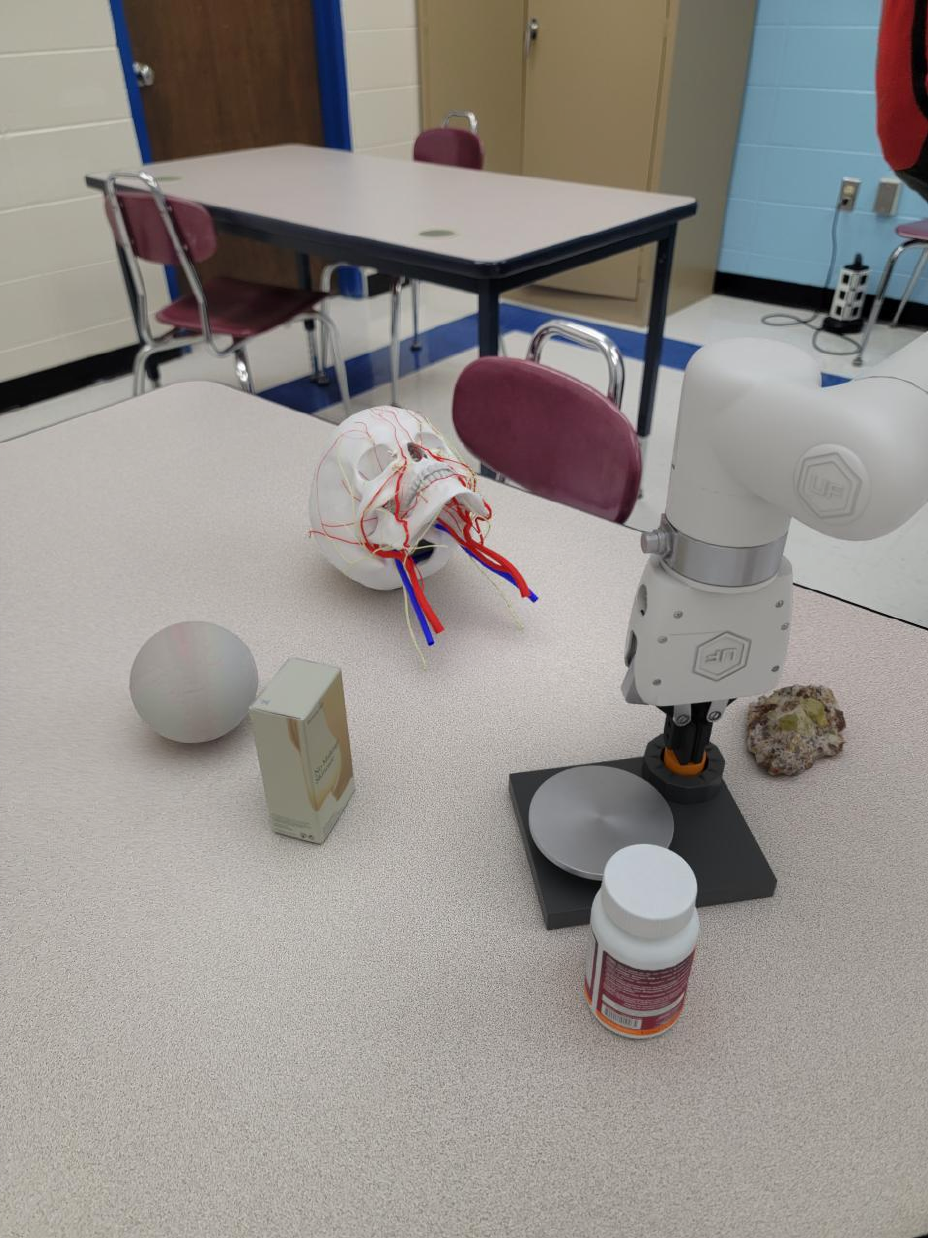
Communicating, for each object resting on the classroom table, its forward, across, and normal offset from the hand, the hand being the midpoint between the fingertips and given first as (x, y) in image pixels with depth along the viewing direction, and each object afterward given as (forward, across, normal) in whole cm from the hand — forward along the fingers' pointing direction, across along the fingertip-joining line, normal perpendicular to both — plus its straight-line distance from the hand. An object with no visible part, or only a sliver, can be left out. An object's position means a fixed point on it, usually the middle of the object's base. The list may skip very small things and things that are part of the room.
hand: (683, 750), depth 68 cm
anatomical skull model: (+5, -17, +30) cm, 35 cm away
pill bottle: (+4, -9, -16) cm, 19 cm away
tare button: (+2, 0, 0) cm, 2 cm away
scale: (+4, -5, -4) cm, 8 cm away
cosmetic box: (+4, -28, +3) cm, 28 cm away
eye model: (+5, -37, +14) cm, 40 cm away
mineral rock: (+4, +11, +4) cm, 12 cm away
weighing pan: (+1, -8, -5) cm, 9 cm away
